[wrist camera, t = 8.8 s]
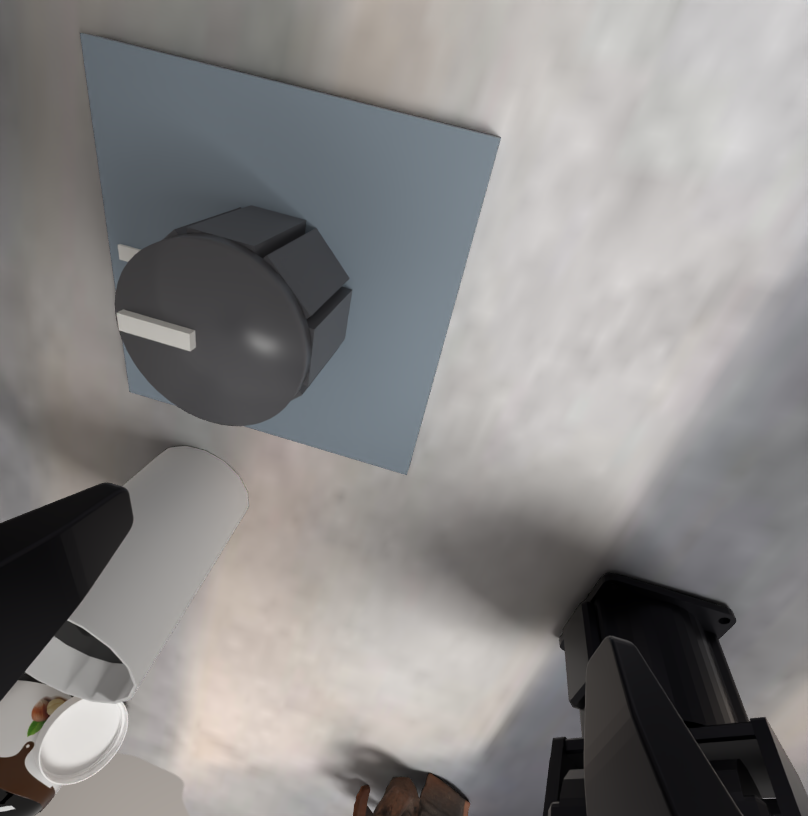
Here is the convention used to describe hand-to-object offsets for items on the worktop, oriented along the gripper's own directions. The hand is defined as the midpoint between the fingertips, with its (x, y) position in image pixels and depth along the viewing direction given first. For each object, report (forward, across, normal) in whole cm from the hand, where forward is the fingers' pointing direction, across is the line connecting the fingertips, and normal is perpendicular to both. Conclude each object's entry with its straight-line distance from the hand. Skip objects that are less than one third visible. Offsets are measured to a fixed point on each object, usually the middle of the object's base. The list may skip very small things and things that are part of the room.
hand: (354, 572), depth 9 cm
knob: (+11, +7, 0) cm, 13 cm away
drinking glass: (+12, +11, +13) cm, 21 cm away
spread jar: (+13, +26, +46) cm, 54 cm away
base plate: (+12, +7, 0) cm, 14 cm away
